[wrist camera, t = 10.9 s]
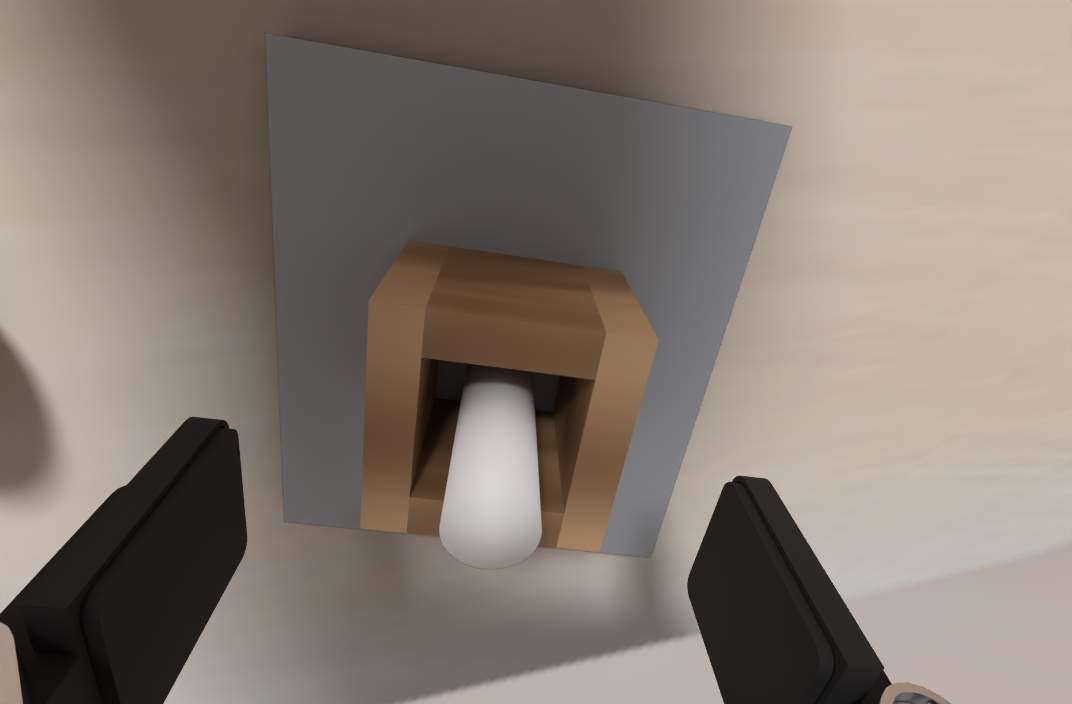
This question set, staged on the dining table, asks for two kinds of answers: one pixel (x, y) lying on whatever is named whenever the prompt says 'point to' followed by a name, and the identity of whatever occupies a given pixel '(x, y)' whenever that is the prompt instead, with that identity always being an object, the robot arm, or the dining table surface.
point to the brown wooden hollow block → (513, 343)
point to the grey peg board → (506, 228)
